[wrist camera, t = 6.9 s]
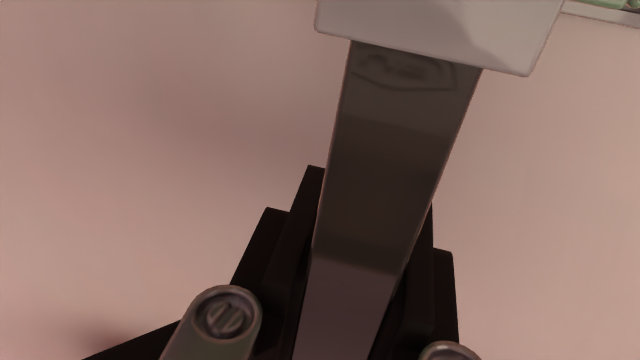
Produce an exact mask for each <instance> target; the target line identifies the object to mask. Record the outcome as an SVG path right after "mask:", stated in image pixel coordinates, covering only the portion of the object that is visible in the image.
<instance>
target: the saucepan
mask: <svg viewBox="0 0 640 360" xmlns="http://www.w3.org/2000/svg"><path fill="white" fill-rule="evenodd" d="M565 1H566V0H317V4H316V11H315V18H314V29H315V31H317V32H318V33H321V34H326V35H330V36H335V37H340V38H344V39H349V40H350V45H349V50H348V55H347V60H346V66H345V71H344V76H343V81H342V86H341V91H340V97H339V102H338V107H337V112H336V117H335V122H334V128H333V133H332V138H331V143H330V148H329V153H328V159H327V164H326V169H325V174H324V179H323V184H322V189H321V195H320V200H319V205H318V210H317V215H316V220H315V226H314V231H313V236H312V241H311V246H310V251H309V257H308V262H307V267H306V272H305V277H304V278H305V286H304V291H303V296H302V301H301V306H300V311H299V317H298V322H297V327H296V332H295V337H294V342H293V347H292V352H291V358H290V360H370V358H371V355H372V353H373V350H374V347H375V345H376V342H377V340H378V337H379V335H380V332H381V329H382V327H383V324H384V322H385V319H386V317H387V314H388V312H389V309H390V306H391V304H392V301H393V299H394V297H395V294H396V292H397V289H398V286H399V284H400V281H401V279H402V276H403V274H404V271H405V269H406V266H407V263H408V261H409V258H410V256H411V253H412V251H413V248H414V245H415V243H416V240H417V238H418V235H419V233H420V230H421V228H422V225H423V222H424V220H425V217H426V215H427V212H428V210H429V207H430V205H431V202H432V199H433V197H434V194H435V192H436V189H437V187H438V184H439V182H440V179H441V176H442V174H443V171H444V169H445V166H446V164H447V161H448V159H449V156H450V153H451V151H452V148H453V146H454V143H455V141H456V138H457V136H458V133H459V130H460V128H461V125H462V123H463V120H464V118H465V115H466V112H467V110H468V107H469V105H470V102H471V100H472V97H473V95H474V92H475V89H476V87H477V84H478V82H479V79H480V77H481V74H482V72H483V69H487V70H491V71H496V72H501V73H505V74H510V75H514V76H519V77H529V76H530V75H531V73H532V72H533V70H534V68H535V66H536V63H537V61H538V59H539V57H540V55H541V53H542V50H543V48H544V46H545V44H546V42H547V40H548V37H549V35H550V33H551V31H552V29H553V27H554V24H555V22H556V20H557V18H558V16H559V14H560V12H561V9H562V7H563V5H564V3H565ZM568 1H573V2H578V3H583V4H588V5H592V6H597V7H602V8H607V9H612V10H617V9H622V8H623V7H624V6H625V5H627V6H628V7H630V8H640V0H568Z"/></svg>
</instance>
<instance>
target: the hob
mask: <svg viewBox="0 0 640 360" xmlns="http://www.w3.org/2000/svg"><path fill="white" fill-rule="evenodd" d="M560 13H564V14H569V15H574V16H579V17H584V18H589V19H594V20H599V21H603V22H608V23H613V24H618V25H623V26H628V27H633V28H637V29H640V8H630V7H628V6H627V5H625V6H624V7H623V8H622V9H617V10H612V9H607V8H602V7H597V6H592V5H588V4H583V3H578V2H573V1H568V0H566V1H565V3H564V5H563V7H562V9H561V12H560Z"/></svg>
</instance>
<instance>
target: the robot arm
mask: <svg viewBox="0 0 640 360" xmlns="http://www.w3.org/2000/svg"><path fill="white" fill-rule="evenodd" d="M324 174H325V168H320V167H316V166H312V165H308V167H307V169H306V171H305V174H304V177H303V179H302V182H301V184H300V187H299V189H298V192H297V194H296V197H295V199H294V202H293V204H292V207H291V209H290V212H286V211H282V210H278V209H274V208H270V207H267V208H266V209H265V210H264V212H263V214H262V216H261V218H260V221H259V223H258V225H257V227H256V229H255V231H254V233H253V235H252V237H251V239H250V242H249V244H248V246H247V248H246V250H245V252H244V254H243V256H242V258H241V261H240V263H239V265H238V267H237V269H236V271H235V273H234V275H233V277H232V280H231V282H230V284H229V285H218V286H214V287H212V288H209V289H206V290H205V291H203V292H202V293H200V294H199V295H197V297H196V298H195V299H194V300H193V301H192V303H191V304H190V306H189V307H188V309H187V311H186V313H185V314H184V316H183V318H182V319H181V320H179V321H176V322H174V323H171V324H169V325H166V326H164V327H161V328H159V329H157V330H154V331H152V332H149V333H147V334H144V335H142V336H139V337H137V338H134V339H132V340H129V341H127V342H124V343H122V344H119V345H117V346H114V347H112V348H109V349H107V350H104V351H102V352H99V353H97V354H94V355H92V356H89V357H87V358H85V359H82V360H290V358H291V352H292V347H293V342H294V337H295V332H296V327H297V322H298V317H299V311H300V306H301V301H302V296H303V291H304V286H305V278H304V277H305V272H306V267H307V262H308V257H309V251H310V246H311V241H312V236H313V231H314V226H315V220H316V215H317V210H318V205H319V200H320V195H321V189H322V184H323V179H324ZM370 360H481V359H480V358H479V357H478V356H477V355H476V353H474V352H473V351H471V350H470V349H468V348H467V347H465V346H463V345H461V344H459V333H458V319H457V306H456V292H455V278H454V265H453V256H452V253H451V252H449V251H445V250H441V249H437V248H433V220H432V202H431V205H430V207H429V210H428V212H427V215H426V217H425V220H424V222H423V225H422V228H421V230H420V233H419V235H418V238H417V240H416V243H415V245H414V248H413V251H412V253H411V256H410V258H409V261H408V263H407V266H406V269H405V271H404V274H403V276H402V279H401V281H400V284H399V286H398V289H397V292H396V294H395V297H394V299H393V301H392V304H391V306H390V309H389V312H388V314H387V317H386V319H385V322H384V324H383V327H382V329H381V332H380V335H379V337H378V340H377V342H376V345H375V347H374V350H373V353H372V355H371V358H370Z"/></svg>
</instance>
